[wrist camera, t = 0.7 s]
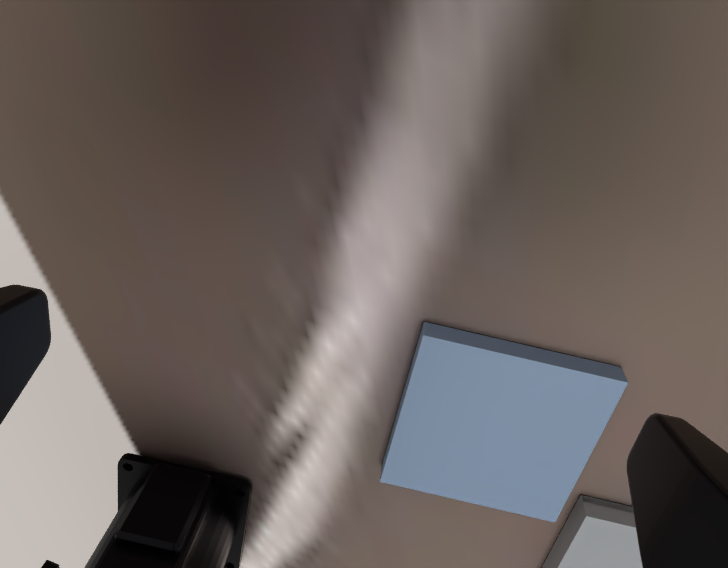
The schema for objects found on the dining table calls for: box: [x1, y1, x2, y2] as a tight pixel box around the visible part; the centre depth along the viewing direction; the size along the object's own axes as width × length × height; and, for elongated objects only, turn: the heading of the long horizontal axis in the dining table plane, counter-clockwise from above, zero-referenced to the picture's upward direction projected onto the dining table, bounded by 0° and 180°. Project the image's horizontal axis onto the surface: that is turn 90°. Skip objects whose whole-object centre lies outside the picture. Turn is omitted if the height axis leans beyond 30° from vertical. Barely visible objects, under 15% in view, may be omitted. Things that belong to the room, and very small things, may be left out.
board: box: [380, 322, 628, 522], centre depth 25 cm, size 8×8×1 cm
